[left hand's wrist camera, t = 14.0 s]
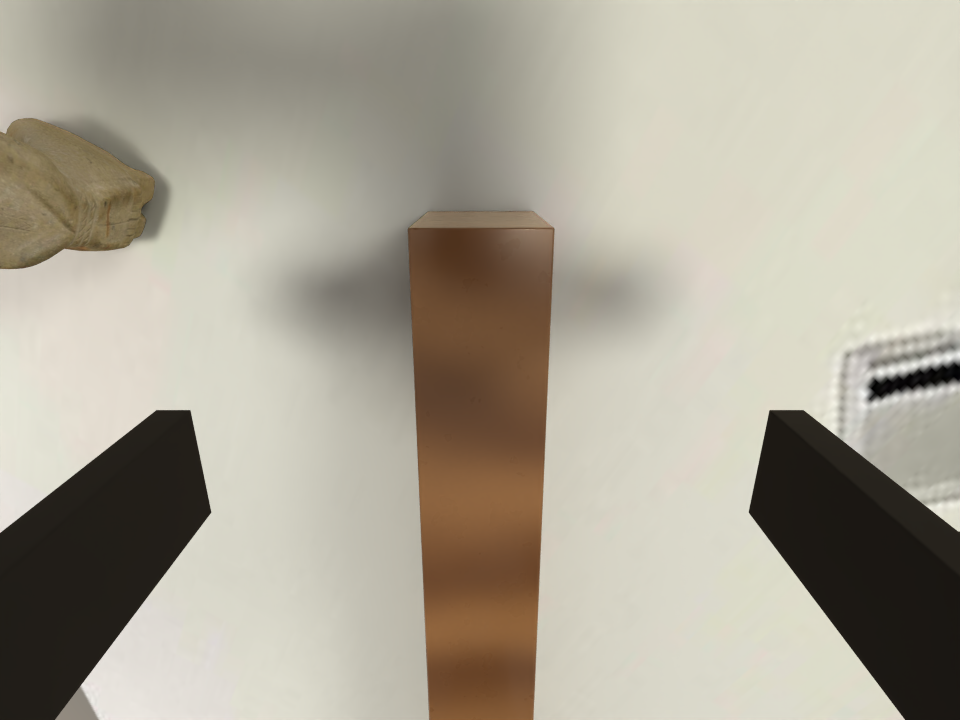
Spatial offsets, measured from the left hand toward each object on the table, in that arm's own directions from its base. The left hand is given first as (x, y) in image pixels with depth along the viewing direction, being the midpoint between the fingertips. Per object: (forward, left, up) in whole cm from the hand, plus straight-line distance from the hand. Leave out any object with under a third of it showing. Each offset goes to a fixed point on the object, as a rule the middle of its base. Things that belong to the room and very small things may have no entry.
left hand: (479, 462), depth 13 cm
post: (+27, -6, -20) cm, 34 cm away
